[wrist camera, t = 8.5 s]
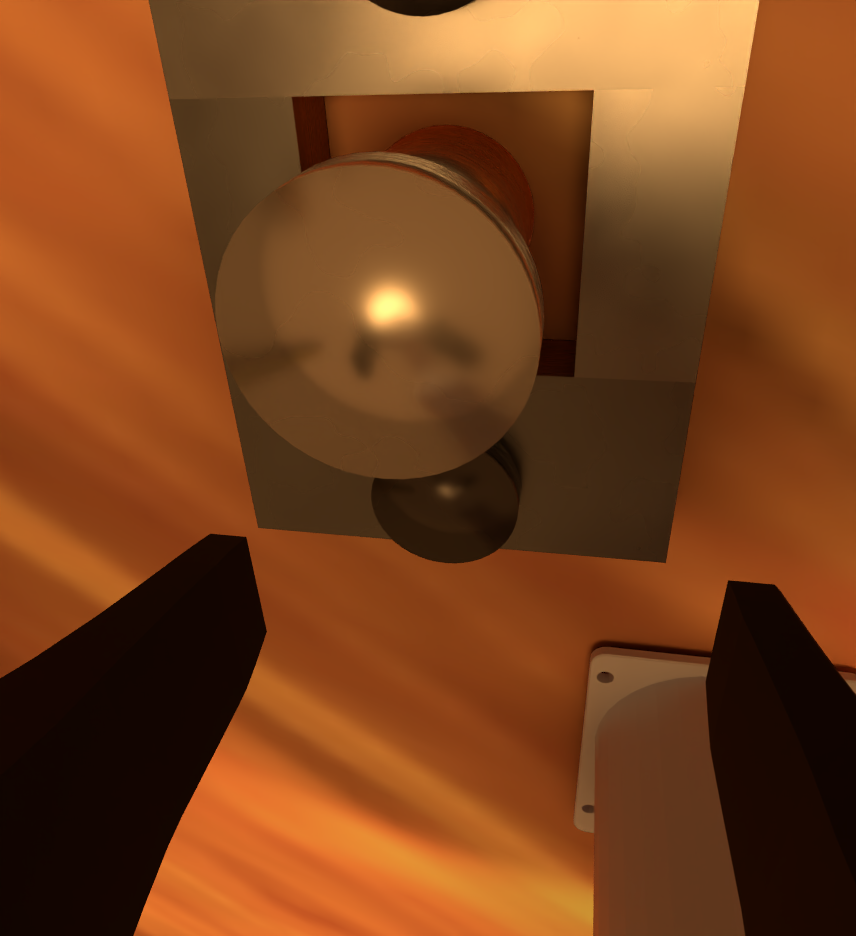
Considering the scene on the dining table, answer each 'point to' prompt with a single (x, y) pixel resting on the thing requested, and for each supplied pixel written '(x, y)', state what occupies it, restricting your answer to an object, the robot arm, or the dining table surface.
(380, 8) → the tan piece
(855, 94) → the dining table surface
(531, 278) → the pin
